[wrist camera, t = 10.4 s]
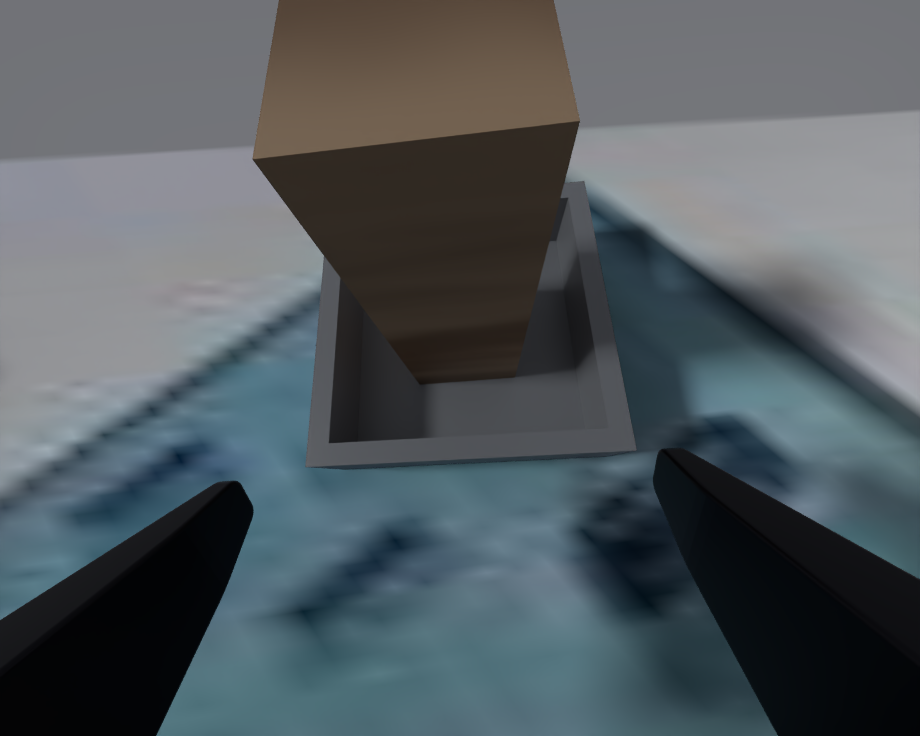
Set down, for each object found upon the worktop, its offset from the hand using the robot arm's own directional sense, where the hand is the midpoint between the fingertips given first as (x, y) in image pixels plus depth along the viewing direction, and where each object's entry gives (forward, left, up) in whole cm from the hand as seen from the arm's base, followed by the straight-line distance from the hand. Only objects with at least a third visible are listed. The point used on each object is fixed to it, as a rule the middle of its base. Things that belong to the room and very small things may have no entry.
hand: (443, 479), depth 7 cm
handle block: (+5, -5, -8) cm, 10 cm away
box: (+5, -4, -8) cm, 10 cm away
